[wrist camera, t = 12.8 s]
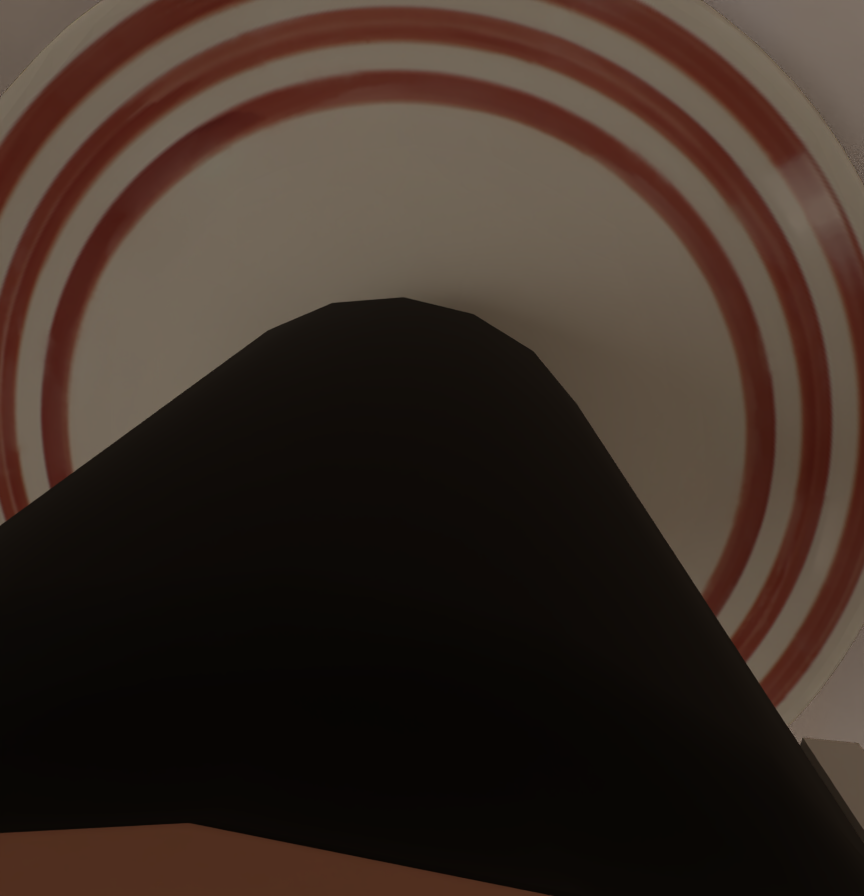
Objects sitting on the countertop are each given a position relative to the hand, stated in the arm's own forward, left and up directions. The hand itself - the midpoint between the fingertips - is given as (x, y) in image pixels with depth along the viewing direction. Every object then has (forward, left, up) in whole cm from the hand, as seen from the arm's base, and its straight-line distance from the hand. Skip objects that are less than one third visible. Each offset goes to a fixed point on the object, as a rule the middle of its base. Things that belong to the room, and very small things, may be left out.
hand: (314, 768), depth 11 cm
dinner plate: (0, 0, -14) cm, 14 cm away
